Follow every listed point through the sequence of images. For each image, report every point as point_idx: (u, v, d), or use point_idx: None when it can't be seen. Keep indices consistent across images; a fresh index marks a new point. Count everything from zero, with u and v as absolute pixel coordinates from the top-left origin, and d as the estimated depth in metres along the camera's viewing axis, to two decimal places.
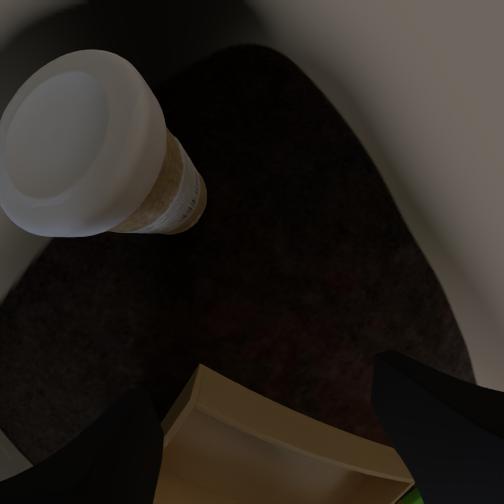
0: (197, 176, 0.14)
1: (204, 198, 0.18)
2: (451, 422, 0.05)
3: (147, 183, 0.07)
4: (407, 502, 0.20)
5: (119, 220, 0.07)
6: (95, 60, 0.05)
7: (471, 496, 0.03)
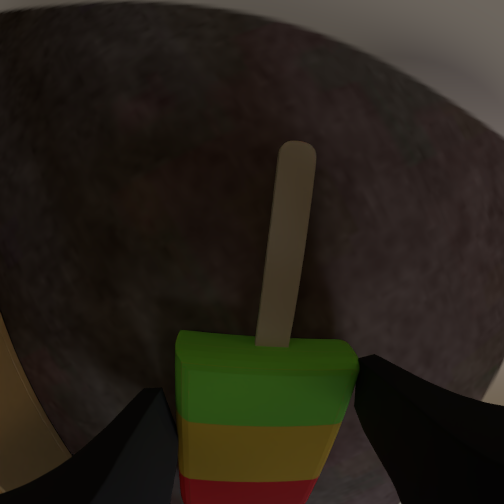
0: None
1: None
2: (429, 432, 0.05)
3: None
4: None
5: None
6: None
7: None
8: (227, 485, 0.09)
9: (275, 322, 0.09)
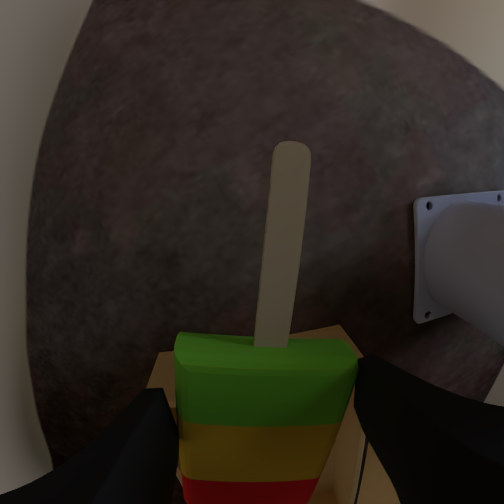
0: None
1: None
2: (427, 433, 0.05)
3: None
4: None
5: None
6: None
7: None
8: (229, 485, 0.09)
9: (273, 323, 0.09)
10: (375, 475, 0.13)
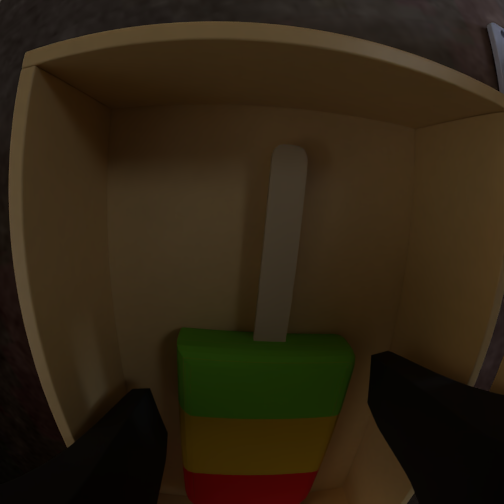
0: None
1: None
2: (447, 424, 0.05)
3: None
4: None
5: None
6: None
7: (466, 499, 0.03)
8: (230, 478, 0.09)
9: (272, 318, 0.09)
10: None
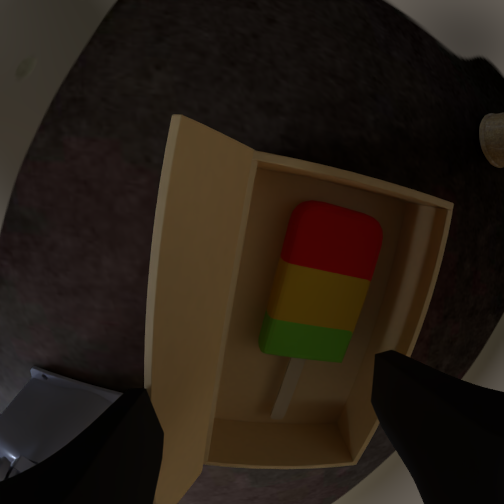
0: None
1: None
2: (451, 422, 0.05)
3: None
4: None
5: None
6: None
7: (471, 496, 0.03)
8: (347, 270, 0.17)
9: (296, 365, 0.19)
10: (203, 402, 0.13)
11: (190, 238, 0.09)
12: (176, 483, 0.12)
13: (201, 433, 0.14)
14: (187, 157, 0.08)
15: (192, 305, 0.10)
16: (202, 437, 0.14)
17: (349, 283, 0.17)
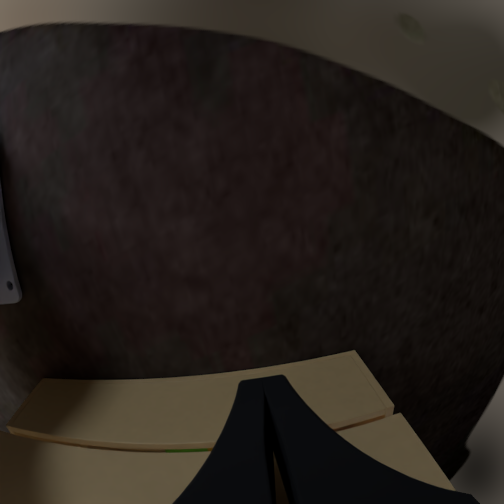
0: None
1: None
2: (290, 474, 0.05)
3: None
4: None
5: None
6: None
7: None
8: None
9: None
10: None
11: None
12: None
13: None
14: None
15: None
16: None
17: None
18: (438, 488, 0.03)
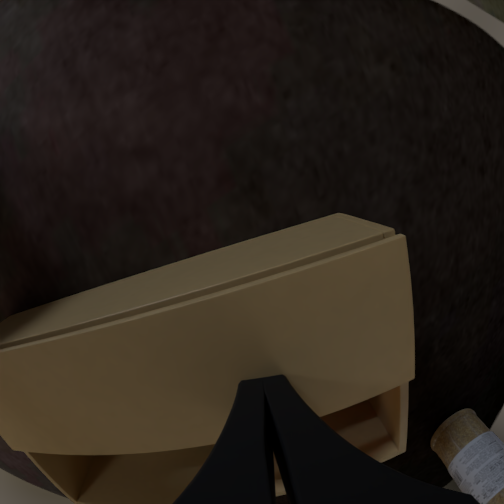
0: None
1: (435, 451, 0.17)
2: (290, 474, 0.05)
3: None
4: None
5: None
6: None
7: None
8: None
9: None
10: None
11: None
12: None
13: None
14: None
15: None
16: None
17: None
18: (438, 488, 0.03)
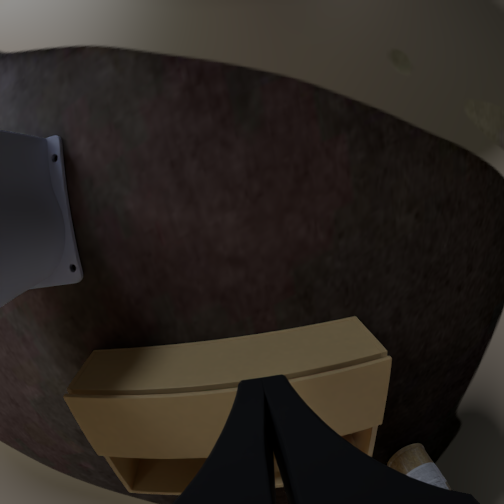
0: None
1: None
2: (290, 474, 0.05)
3: None
4: None
5: None
6: None
7: None
8: None
9: None
10: None
11: None
12: None
13: None
14: None
15: None
16: None
17: None
18: (438, 488, 0.03)
